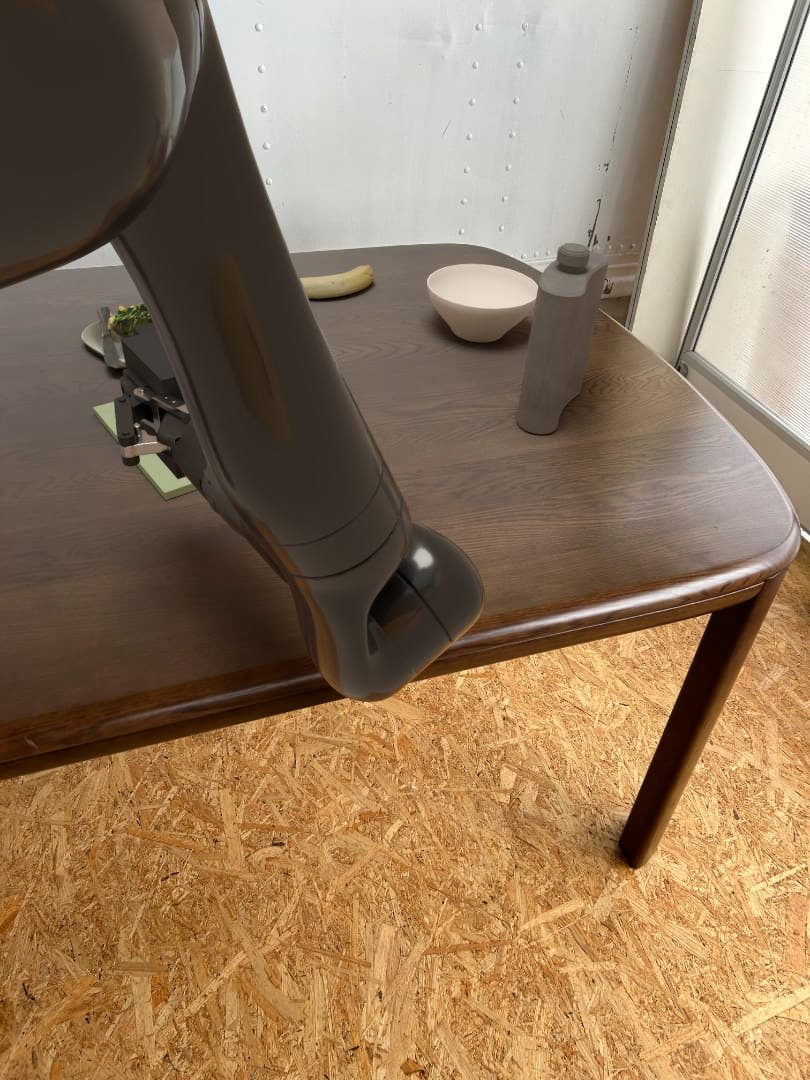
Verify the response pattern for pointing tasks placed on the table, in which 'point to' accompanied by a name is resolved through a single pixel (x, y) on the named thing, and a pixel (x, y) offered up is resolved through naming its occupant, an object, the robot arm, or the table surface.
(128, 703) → the table surface
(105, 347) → the salad plate
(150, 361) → the tall dark upright box
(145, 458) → the dock mat
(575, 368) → the flask
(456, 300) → the bowl
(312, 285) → the fruit
